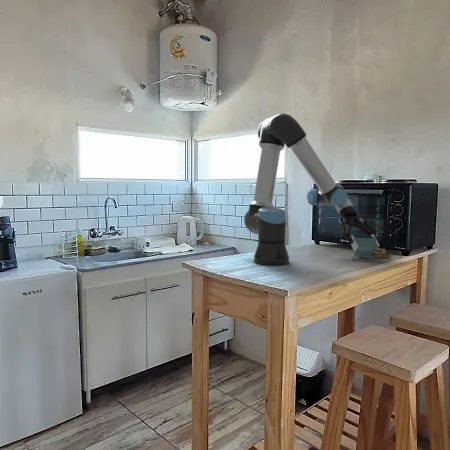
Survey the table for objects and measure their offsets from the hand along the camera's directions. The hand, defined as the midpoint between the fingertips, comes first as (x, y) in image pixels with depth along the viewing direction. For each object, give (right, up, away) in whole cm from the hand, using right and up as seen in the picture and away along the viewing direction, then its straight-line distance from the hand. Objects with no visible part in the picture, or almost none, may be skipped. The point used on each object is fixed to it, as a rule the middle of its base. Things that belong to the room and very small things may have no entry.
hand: (367, 248), depth 180 cm
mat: (-1, -5, +3) cm, 6 cm away
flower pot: (-1, -4, +3) cm, 5 cm away
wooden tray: (+6, -4, +13) cm, 15 cm away
